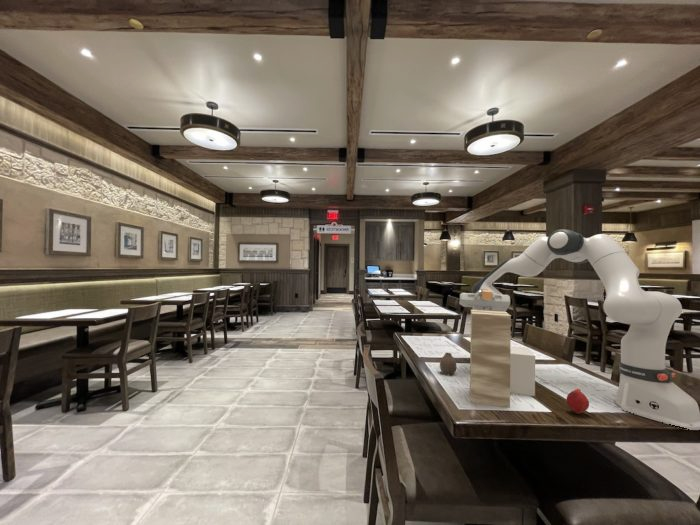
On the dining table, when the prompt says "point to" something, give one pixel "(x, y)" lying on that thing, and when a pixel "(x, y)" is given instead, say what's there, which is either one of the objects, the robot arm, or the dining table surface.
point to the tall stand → (490, 357)
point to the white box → (522, 371)
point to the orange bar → (486, 294)
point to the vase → (448, 364)
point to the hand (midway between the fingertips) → (485, 292)
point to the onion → (577, 401)
